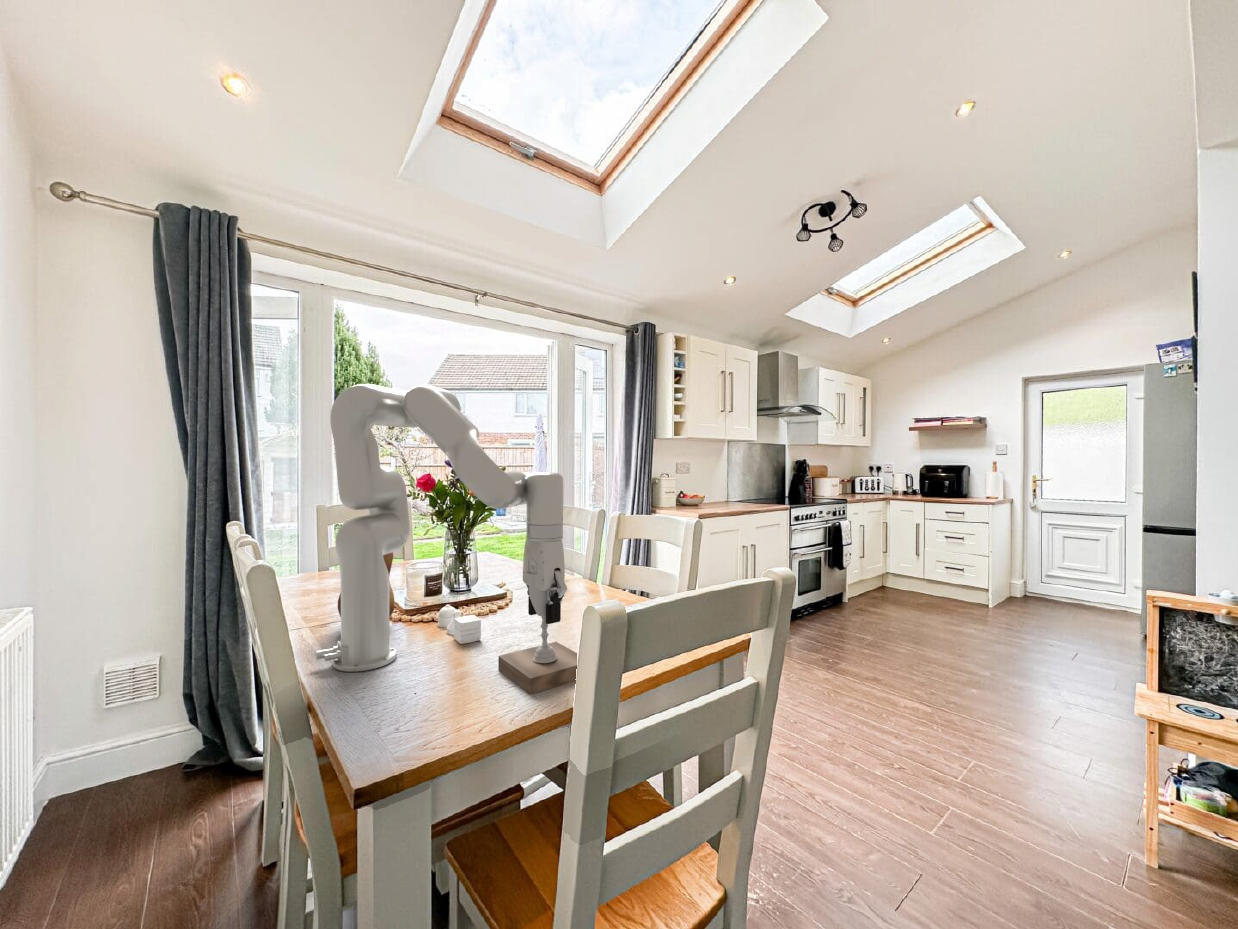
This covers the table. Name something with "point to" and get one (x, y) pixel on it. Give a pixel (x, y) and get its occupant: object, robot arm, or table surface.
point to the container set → (460, 625)
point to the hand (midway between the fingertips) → (544, 617)
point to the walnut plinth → (539, 668)
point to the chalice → (539, 603)
